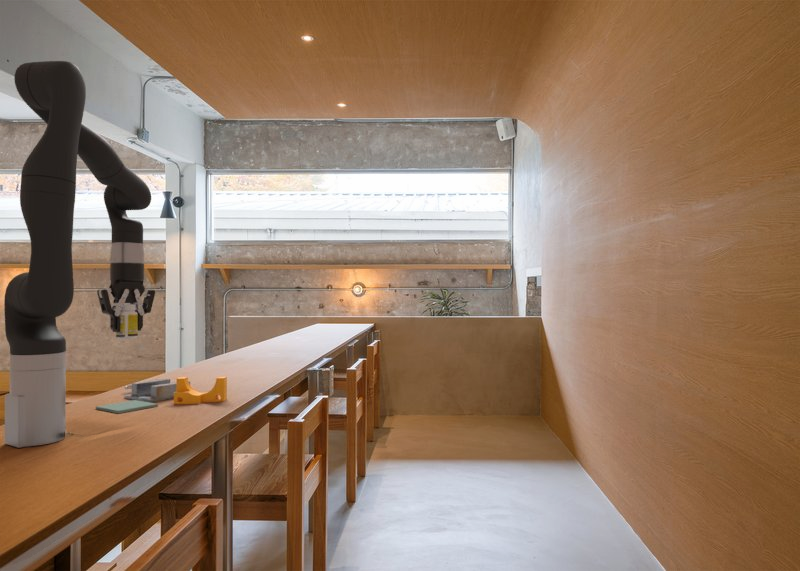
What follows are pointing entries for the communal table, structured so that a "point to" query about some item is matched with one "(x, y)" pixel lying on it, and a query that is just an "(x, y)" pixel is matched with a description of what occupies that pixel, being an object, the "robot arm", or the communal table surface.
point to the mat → (126, 406)
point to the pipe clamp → (190, 396)
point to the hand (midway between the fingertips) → (127, 330)
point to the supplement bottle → (128, 322)
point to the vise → (152, 390)
